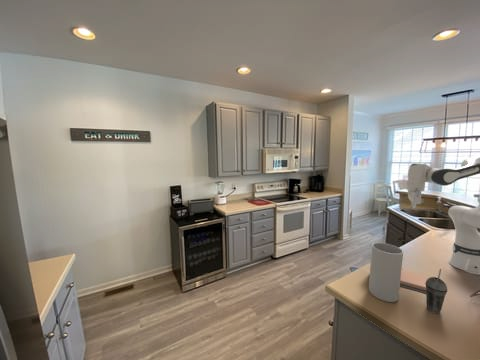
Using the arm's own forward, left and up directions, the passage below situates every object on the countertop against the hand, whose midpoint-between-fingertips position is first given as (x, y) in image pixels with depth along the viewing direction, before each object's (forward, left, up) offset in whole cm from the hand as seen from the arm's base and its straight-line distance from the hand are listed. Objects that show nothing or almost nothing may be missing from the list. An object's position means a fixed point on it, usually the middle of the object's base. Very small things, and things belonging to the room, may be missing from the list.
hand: (413, 208), depth 130 cm
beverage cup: (-3, +50, -37) cm, 62 cm away
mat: (+1, +29, -37) cm, 47 cm away
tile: (+1, +20, -36) cm, 41 cm away
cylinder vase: (+16, +50, -37) cm, 64 cm away
